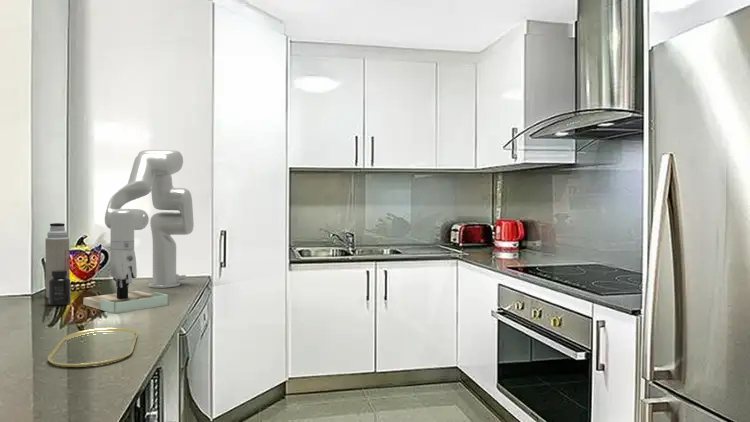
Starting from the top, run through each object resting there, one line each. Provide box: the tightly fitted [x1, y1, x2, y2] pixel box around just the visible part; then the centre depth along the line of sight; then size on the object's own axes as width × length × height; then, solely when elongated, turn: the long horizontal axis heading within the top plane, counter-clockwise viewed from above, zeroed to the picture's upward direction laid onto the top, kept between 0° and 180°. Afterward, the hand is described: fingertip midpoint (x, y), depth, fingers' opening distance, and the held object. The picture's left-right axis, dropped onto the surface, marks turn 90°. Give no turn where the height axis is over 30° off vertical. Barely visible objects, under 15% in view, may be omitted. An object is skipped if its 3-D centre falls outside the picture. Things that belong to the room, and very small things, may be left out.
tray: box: [99, 291, 170, 314], centre depth 198 cm, size 20×10×4 cm, turn 142°
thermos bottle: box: [45, 222, 71, 299], centre depth 215 cm, size 8×8×28 cm
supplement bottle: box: [48, 270, 72, 307], centre depth 200 cm, size 7×7×12 cm
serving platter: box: [47, 327, 138, 368], centre depth 146 cm, size 19×35×2 cm, turn 19°
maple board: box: [82, 290, 153, 310], centre depth 204 cm, size 20×12×2 cm, turn 142°
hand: (122, 298), depth 195 cm, fingers closed
